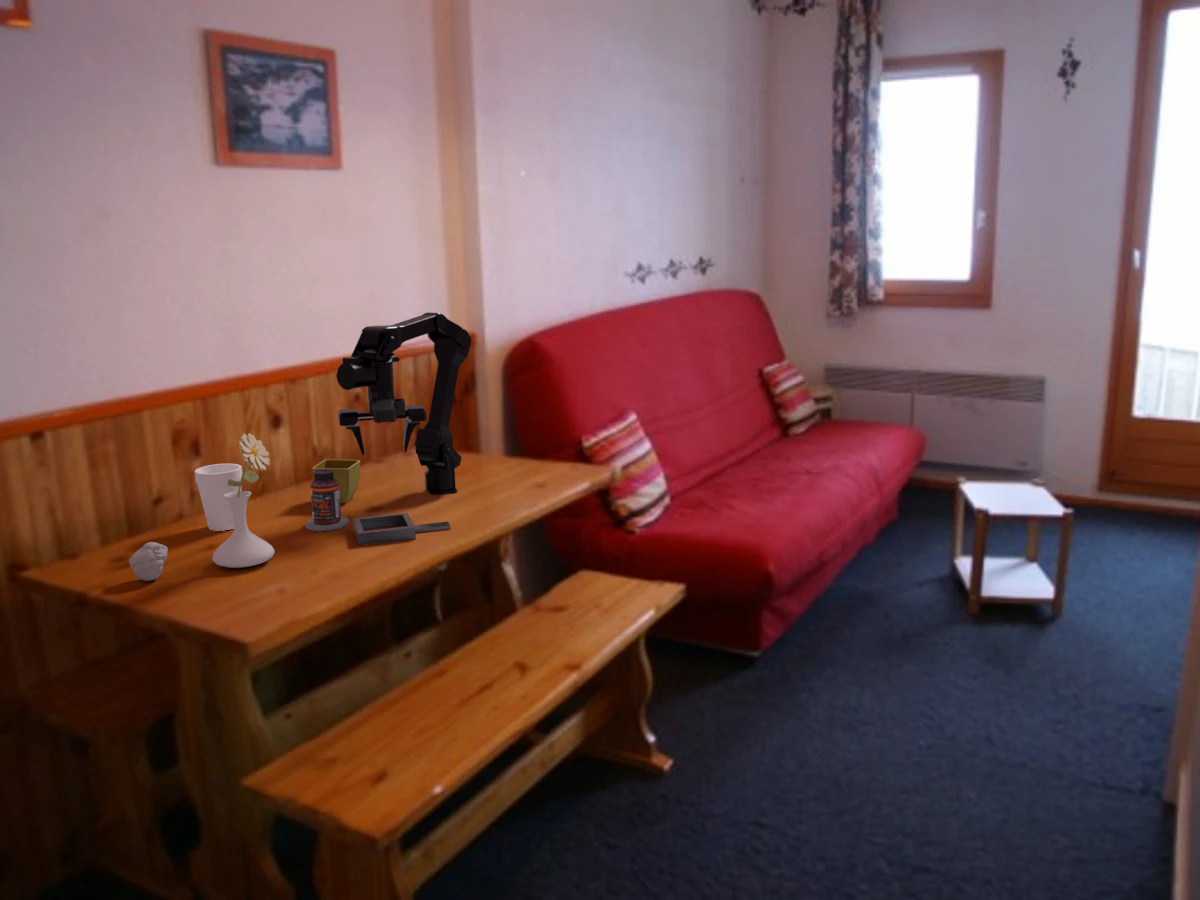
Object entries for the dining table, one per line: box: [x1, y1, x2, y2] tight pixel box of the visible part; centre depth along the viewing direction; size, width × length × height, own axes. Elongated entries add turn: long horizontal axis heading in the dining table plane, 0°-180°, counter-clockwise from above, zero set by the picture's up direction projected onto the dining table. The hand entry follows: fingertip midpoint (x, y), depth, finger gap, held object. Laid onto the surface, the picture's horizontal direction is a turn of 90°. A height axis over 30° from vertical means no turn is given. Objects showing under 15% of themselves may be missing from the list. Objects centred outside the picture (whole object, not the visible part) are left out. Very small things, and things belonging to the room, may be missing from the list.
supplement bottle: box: [310, 469, 342, 525], centre depth 221 cm, size 6×6×11 cm
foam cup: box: [194, 463, 243, 532], centre depth 221 cm, size 10×9×13 cm
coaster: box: [304, 515, 349, 533], centre depth 222 cm, size 9×9×1 cm
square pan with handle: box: [352, 512, 451, 546], centre depth 216 cm, size 19×11×2 cm, turn 108°
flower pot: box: [311, 459, 361, 504], centre depth 240 cm, size 9×9×9 cm
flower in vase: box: [211, 433, 276, 569], centre depth 197 cm, size 13×11×25 cm
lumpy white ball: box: [128, 541, 169, 582], centre depth 191 cm, size 6×7×7 cm
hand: (384, 453), depth 230 cm, fingers open, 9 cm apart
